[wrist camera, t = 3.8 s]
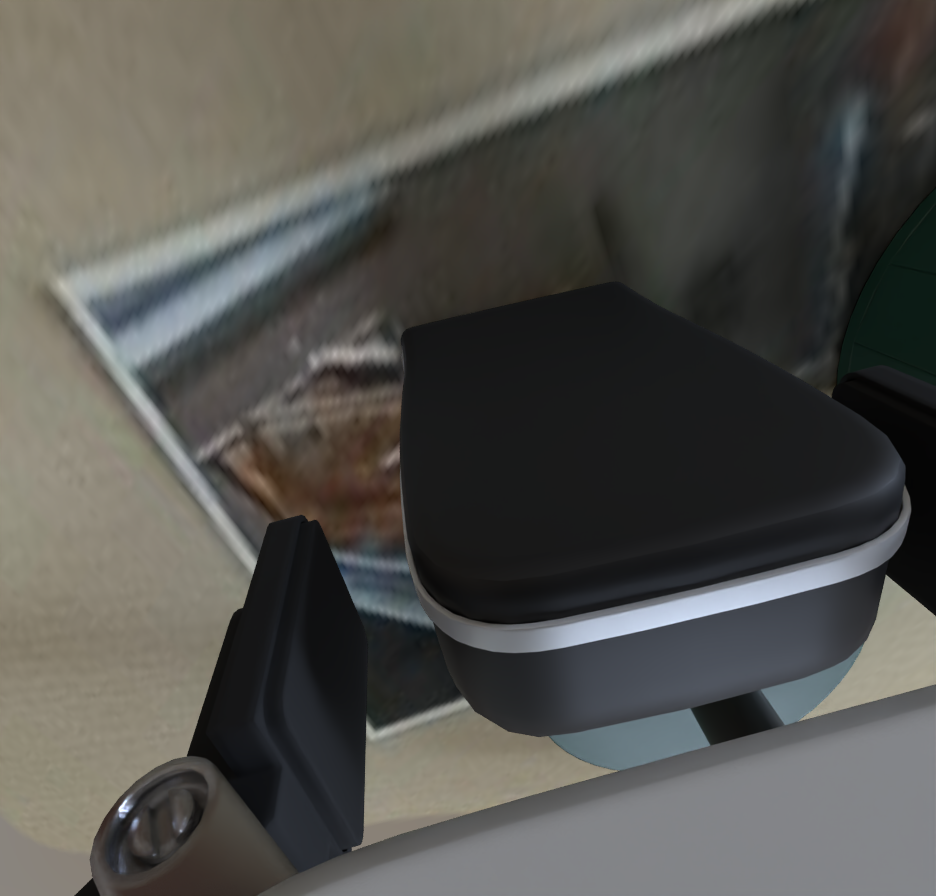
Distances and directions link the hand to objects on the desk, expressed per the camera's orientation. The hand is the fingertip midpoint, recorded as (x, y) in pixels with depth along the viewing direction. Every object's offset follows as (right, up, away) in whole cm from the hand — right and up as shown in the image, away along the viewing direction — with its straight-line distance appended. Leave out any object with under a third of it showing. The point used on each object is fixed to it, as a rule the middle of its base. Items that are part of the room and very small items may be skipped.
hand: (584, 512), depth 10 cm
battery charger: (-1, +4, +7) cm, 8 cm away
